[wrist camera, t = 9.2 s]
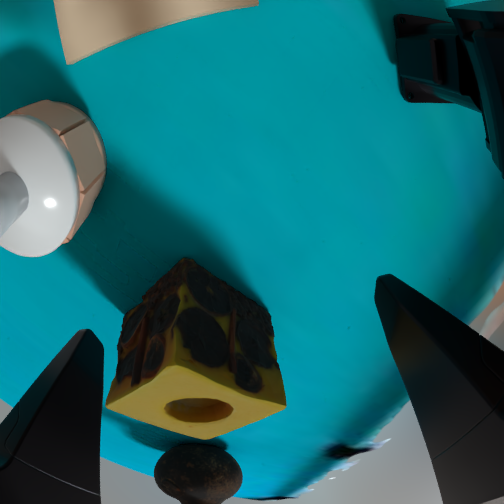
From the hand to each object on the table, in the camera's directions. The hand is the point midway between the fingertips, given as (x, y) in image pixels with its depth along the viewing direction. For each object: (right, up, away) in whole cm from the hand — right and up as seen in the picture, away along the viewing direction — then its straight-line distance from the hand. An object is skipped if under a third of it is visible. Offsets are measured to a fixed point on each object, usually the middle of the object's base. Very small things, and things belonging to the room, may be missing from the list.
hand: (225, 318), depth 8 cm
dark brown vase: (-10, -39, +43) cm, 59 cm away
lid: (-13, +6, +5) cm, 15 cm away
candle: (-4, -4, +19) cm, 20 cm away
